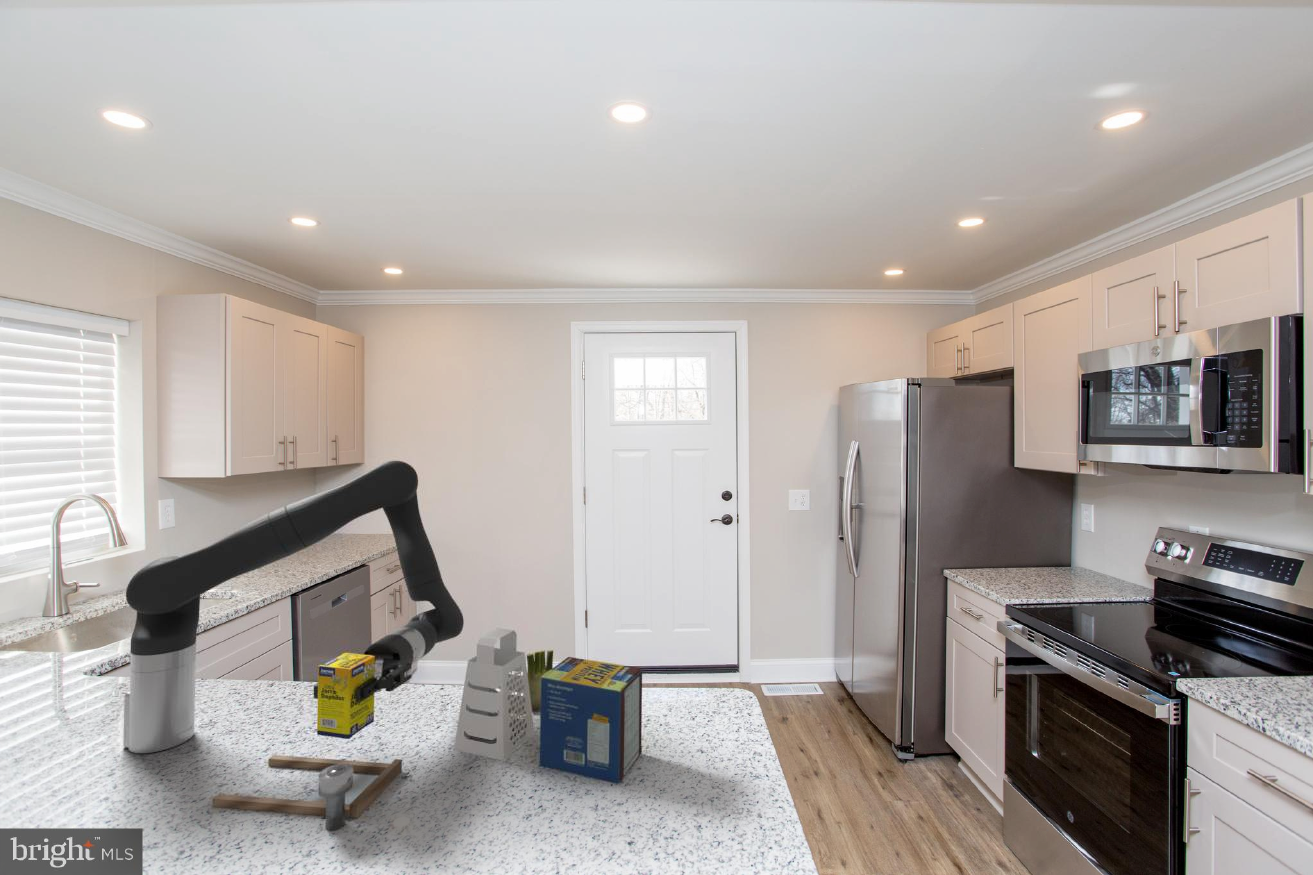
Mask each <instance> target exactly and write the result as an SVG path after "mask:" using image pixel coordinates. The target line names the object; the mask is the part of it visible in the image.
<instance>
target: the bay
mask: <svg viewBox="0 0 1313 875" xmlns="http://www.w3.org/2000/svg"><path fill="white" fill-rule="evenodd" d="M337 764H350V765H352V766H353V787H352V788H351V790H349V791H348V792H347V793H345V819H358V818H359V817H360V816H361V815H362V814H363V813H364V812H365V811H366V810H367V809H368V808H369V807H370V806H371V805H372V803H373V802H375V800H377V798H378V797H379V796H380V795H381V794H382V793H383V792H384V791H385V790H386V789H387V788H388V786H390V785H391V783H393V781H395V779H396V778H397V777H398V776H399V775H400V774H401V773H402V772H403V768H402V767H403V760H402V759H400V758H399V759H398V758H395V759H394V760H393V761H391V762H390V763H388V762H373V761H359V760H348V759H347V760H346V759H335V758H321V757H309V756H308V757H305V756H293V755H292V756H291V755H283V754H282V755H280V754H273V755H272V756H270V757H269V758H268V763H267V765H268V767H269V766H270V767H280V768H293V769H307V770H319V771H323V770H324V769H326V768H328V767H330V766H333V765H337ZM211 801H212V802H211V803H212V806H211V807H215V808H216V807H217V808H227V809H238V810H240V809H241V810H250V811H251V810H252V811H263V812H273V813H287V814H297V815H308V816H309V815H310V816H320V817H322V816H323V817H326V798H324V797H321V796H319V794H318V790H316V791H315V792H314V793H313V794H312V795H310V796H309V797H308V798H307V799H306V800H301V799H299V800H298V799H288V798H276V797H264V796H253V795H250V796H248V795H241V794H238V795H237V794H226V793H218V794H216V796H214V797H212V799H211Z"/></svg>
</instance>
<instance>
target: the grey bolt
mask: <svg viewBox="0 0 1313 875" xmlns="http://www.w3.org/2000/svg"><path fill="white" fill-rule="evenodd" d="M353 774H354V772H353V766H352V765H350V764H337V765H333V766H330V767H328V768H326V769H324V770H320V772H319V774H318V787H317V788H318V790H317V791H318V794H319V796H321V797H324V798H326V816H325V830H326V831H328V832H332V831H333V832H334V831H337V830H341V829H342V827H344V825H345V821H346V820H345V819H346V818H345V793H347V792H348V791H349V790H351V788H352V787H353Z"/></svg>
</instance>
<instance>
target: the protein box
mask: <svg viewBox="0 0 1313 875" xmlns="http://www.w3.org/2000/svg"><path fill="white" fill-rule="evenodd" d="M642 702H643V669H642V667H638V666H630V665H624V664H618V663H617V664H616V663H611V662H610V663H609V662H603V661H598V660H591V659H585V658H578V657H571V656H568V657H566V658H565V659H564V660H562V661H561V662H559V663H558V664H556V665H555V666H554V667H553V668H552V669H551V670H550V671H548V672H547V673H545V674H544V675H542V676H541V710H540V713H539V714H540V719H539V762H538V763H539V764H538V766H541V767H544V768H545V767H546V768H549V769H553V770H558V771H562V772H567V773H571V774H575V775H580V776H583V777H588V778H592V779H596V780H600V781H605V782H608V783H611V784H612V783H613V784H620V783H621V782H622V780H624V777H625V776H626V775H627V773H628V772H629V771H630V769H631V768H632V766H633V765H634V764H635V762H636V761H637V760H638V758H639V757H640V756H641V754H642V753H643V752H642V746H643V744H642V735H643V734H642V726H643V725H642V724H643V723H642V722H643V720H642V718H643V716H642V714H643V711H642V710H643V707H642V706H643V703H642Z"/></svg>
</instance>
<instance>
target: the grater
mask: <svg viewBox="0 0 1313 875" xmlns="http://www.w3.org/2000/svg"><path fill="white" fill-rule="evenodd" d="M517 636H518V635H517V632H516V631H515V630H514V629H507V628H506V629H505V628H500V627H499V628H498V627H497V628H495V629H493V630H491V631H489V632H487V633H485V634H483V635H480V637H479V639H478V641H477V644H476V656H473V657H472V658H470V659H469V660H467V665H466V672H465V678H464V685H463V689H462V696H461V703H460V709H459V716H458V719H457V720H458V722H457V728H456V733H455V740H454V747H453V750H454V749H455V750H454V751H459V752H463V753H466V754H467V753H468V754H472V755H476V756H480V757H484V758H490V759H493V760H499V761H502V762H503V761H505V760H506V759H508V757H509V756H510V755H512V754H513V753H514V752H515V751H516V750H517V749H519V748H521V746H522V745H523V744H525V742H527V741H528V740H529V739H530V738H531V737H532V736H533V735H534V734H535V733H536V732H535V724H534V723H535V722H534V718H533V716H534V715H533V710H532V707H531V699H530V691H529V683H528V675H527V673H528V667H527V662H526V661H527V658H526V654H525V652H523V651H517V641H518V638H517ZM498 640H499V648H497V647H495V646H496V644H497V641H498ZM513 673H514V674H513ZM497 689H499V691H498V690H497ZM521 694H522V695H521ZM521 716H522V717H521ZM513 729H514V731H513ZM518 731H519V733H518ZM515 733H516V735H515ZM524 733H525V735H524ZM521 735H522V737H521ZM471 737H475V738H480V739H484V740H490V741H493V740H495V739H496V742H495V743H488V742H482V741H477V740H473V739H470V738H471ZM511 737H512V739H511ZM517 739H518V741H517ZM514 742H515V743H514Z"/></svg>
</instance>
